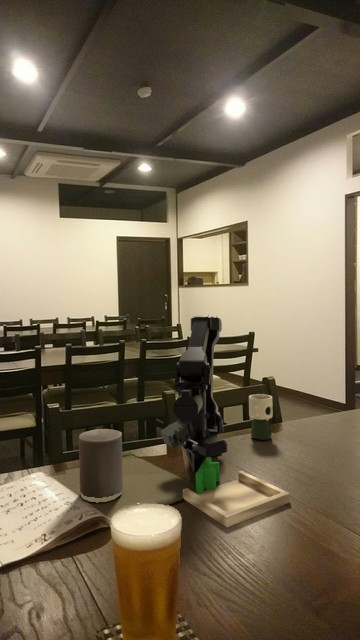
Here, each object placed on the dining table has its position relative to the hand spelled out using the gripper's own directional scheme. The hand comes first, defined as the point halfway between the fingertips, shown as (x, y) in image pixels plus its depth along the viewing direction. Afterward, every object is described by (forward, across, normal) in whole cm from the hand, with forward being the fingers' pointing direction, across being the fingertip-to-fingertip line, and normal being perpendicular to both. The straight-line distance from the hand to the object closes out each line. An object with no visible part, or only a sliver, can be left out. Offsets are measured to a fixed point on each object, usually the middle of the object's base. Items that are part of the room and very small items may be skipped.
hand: (195, 472), depth 108 cm
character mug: (+2, -12, +33) cm, 35 cm away
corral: (+1, +14, 0) cm, 14 cm away
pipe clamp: (+1, +6, 0) cm, 6 cm away
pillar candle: (+2, -5, -22) cm, 23 cm away
